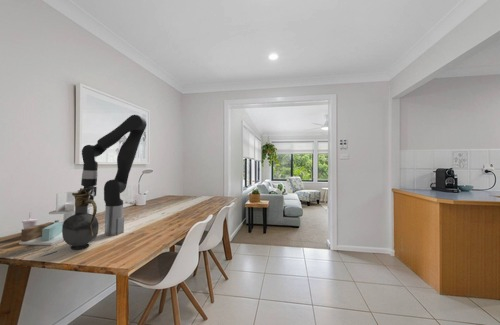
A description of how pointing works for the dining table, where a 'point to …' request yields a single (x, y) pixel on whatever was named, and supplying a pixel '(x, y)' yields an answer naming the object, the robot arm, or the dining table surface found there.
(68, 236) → the pitcher
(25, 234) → the arm
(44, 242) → the board
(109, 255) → the dining table surface
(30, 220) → the smoothie
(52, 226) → the arm
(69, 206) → the architectural model
